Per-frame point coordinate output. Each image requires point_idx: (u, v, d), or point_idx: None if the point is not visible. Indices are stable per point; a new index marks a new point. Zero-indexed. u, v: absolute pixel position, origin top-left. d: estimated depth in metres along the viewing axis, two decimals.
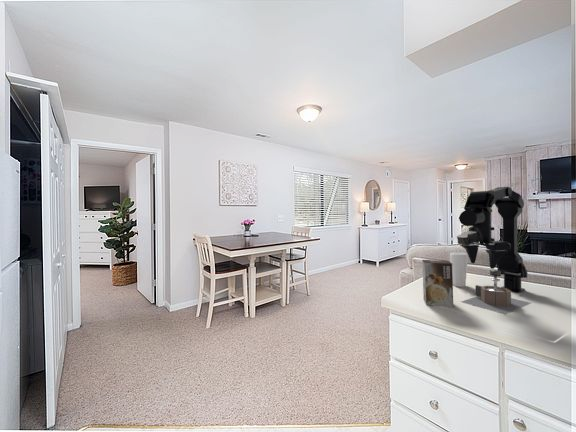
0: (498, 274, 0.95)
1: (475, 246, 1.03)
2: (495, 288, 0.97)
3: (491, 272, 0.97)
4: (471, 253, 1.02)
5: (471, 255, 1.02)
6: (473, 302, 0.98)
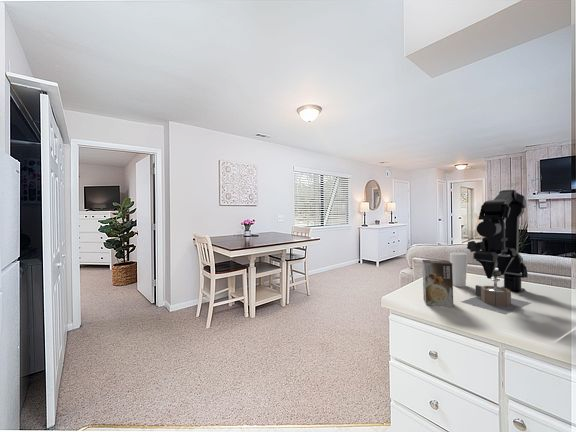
0: (498, 274, 0.95)
1: (506, 258, 0.98)
2: (495, 288, 0.97)
3: None
4: (500, 264, 0.99)
5: (499, 266, 0.99)
6: (473, 302, 0.98)
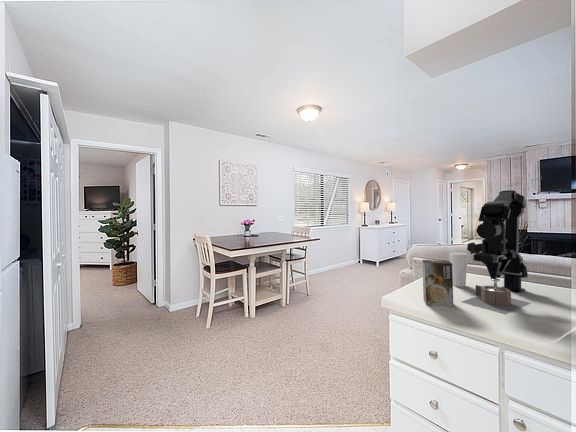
0: (498, 274, 0.95)
1: (503, 260, 0.96)
2: (495, 288, 0.97)
3: None
4: None
5: None
6: (473, 302, 0.98)
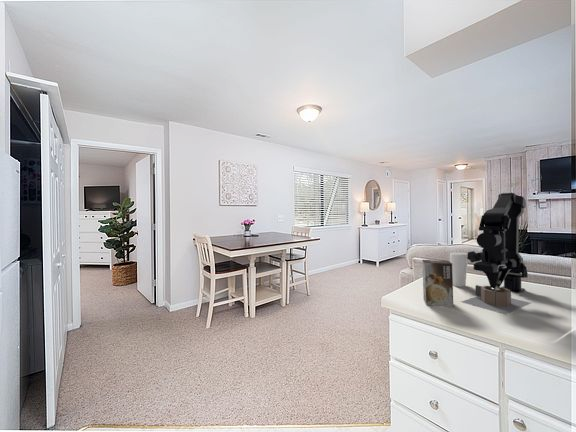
0: (498, 284, 0.95)
1: (503, 270, 0.96)
2: None
3: None
4: None
5: None
6: (473, 302, 0.98)
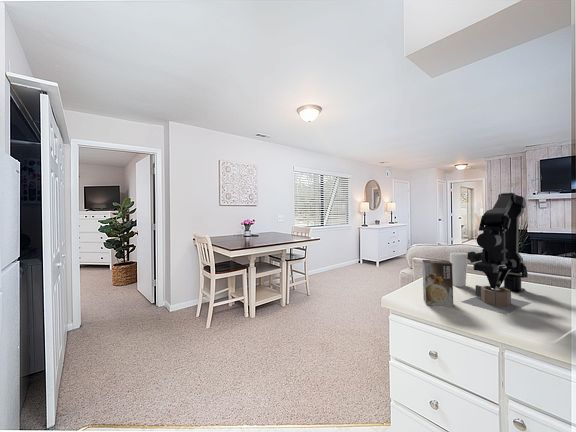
0: (498, 284, 0.95)
1: (503, 270, 0.96)
2: None
3: None
4: None
5: None
6: (473, 302, 0.98)
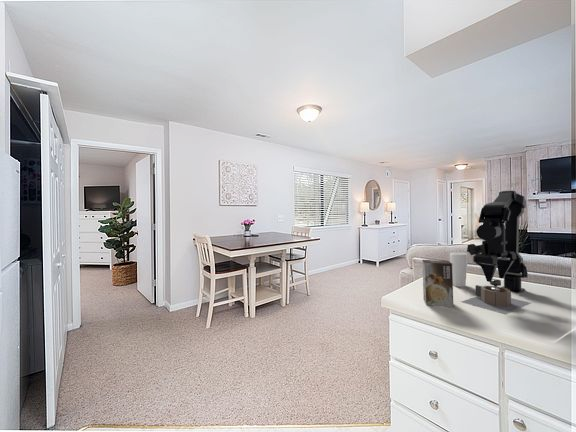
0: (498, 284, 0.95)
1: (506, 261, 0.98)
2: None
3: (491, 281, 0.97)
4: (499, 267, 0.99)
5: (499, 269, 0.99)
6: (473, 302, 0.98)
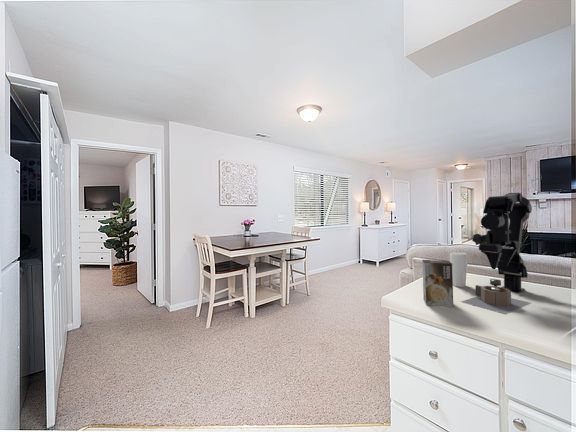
0: (498, 284, 0.95)
1: (510, 250, 1.03)
2: None
3: (491, 281, 0.97)
4: (503, 256, 1.05)
5: (503, 258, 1.05)
6: (473, 302, 0.98)
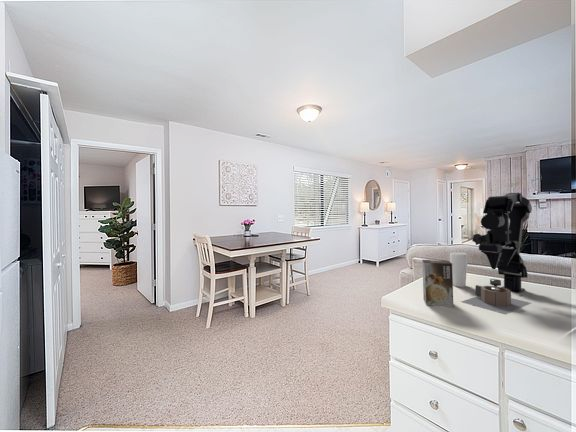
0: (498, 284, 0.95)
1: (510, 250, 1.03)
2: None
3: (491, 281, 0.97)
4: (503, 256, 1.05)
5: (503, 258, 1.05)
6: (473, 302, 0.98)
